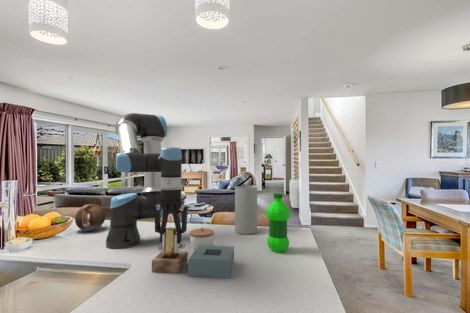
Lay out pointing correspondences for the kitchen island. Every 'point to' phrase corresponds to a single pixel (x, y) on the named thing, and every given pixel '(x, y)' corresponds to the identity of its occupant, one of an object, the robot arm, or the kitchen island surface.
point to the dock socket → (211, 261)
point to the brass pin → (170, 243)
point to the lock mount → (170, 262)
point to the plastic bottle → (278, 224)
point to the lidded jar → (201, 237)
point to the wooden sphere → (90, 217)
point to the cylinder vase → (246, 209)
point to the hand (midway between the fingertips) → (170, 251)
